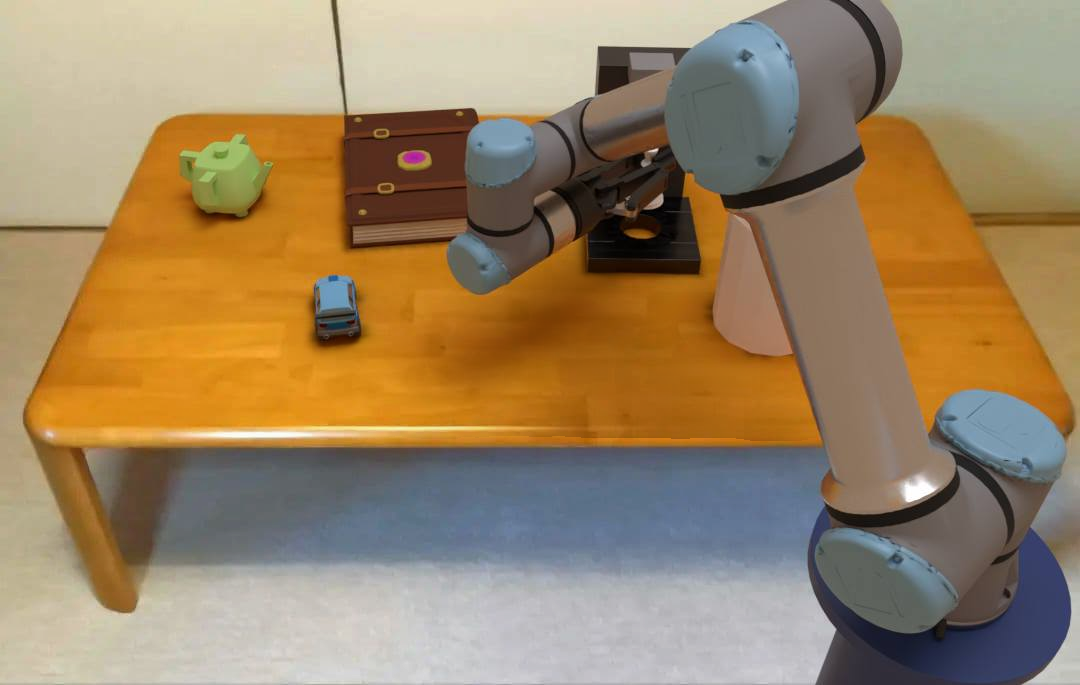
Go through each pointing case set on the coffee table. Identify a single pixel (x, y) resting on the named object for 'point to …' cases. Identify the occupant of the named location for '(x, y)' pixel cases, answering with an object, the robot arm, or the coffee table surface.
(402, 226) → the book
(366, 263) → the coffee table surface
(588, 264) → the drip pan
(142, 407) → the coffee table surface
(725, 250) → the container
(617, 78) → the column
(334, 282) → the toy car
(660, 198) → the chess piece
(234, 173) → the teapot
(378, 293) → the coffee table surface
